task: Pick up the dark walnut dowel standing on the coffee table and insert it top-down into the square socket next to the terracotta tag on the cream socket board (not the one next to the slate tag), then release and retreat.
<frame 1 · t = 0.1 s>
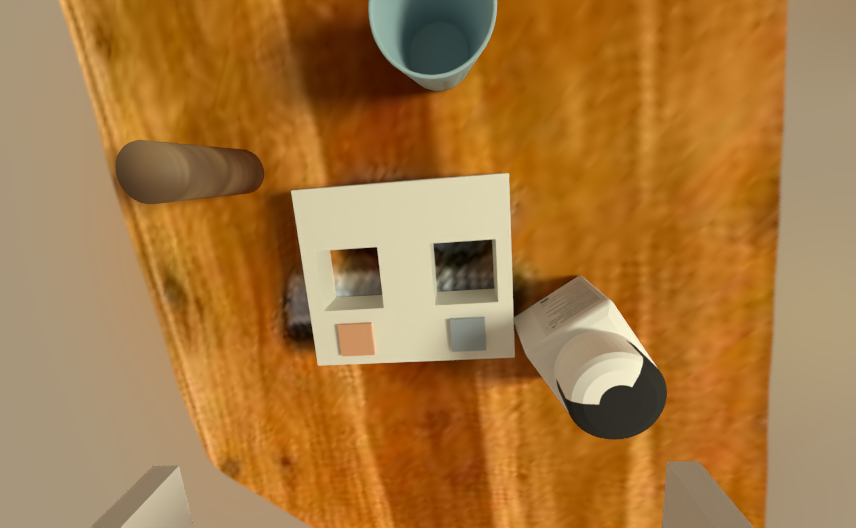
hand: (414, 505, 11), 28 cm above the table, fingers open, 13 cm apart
cup: (439, 57, 34), on the table
dowel: (243, 171, 37), on the table
socket board: (411, 265, 38), on the table
container: (566, 326, 39), on the table
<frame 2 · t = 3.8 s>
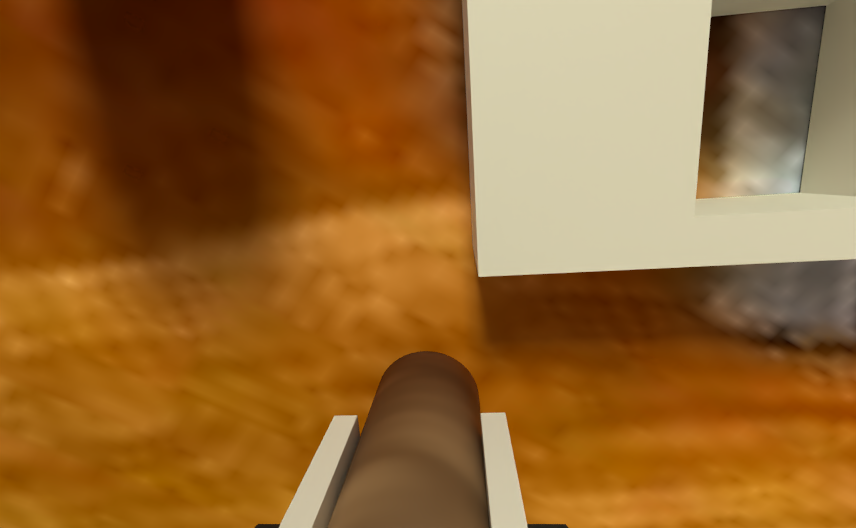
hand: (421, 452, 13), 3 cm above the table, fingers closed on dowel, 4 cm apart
dowel: (427, 397, 16), on the table, touching gripper
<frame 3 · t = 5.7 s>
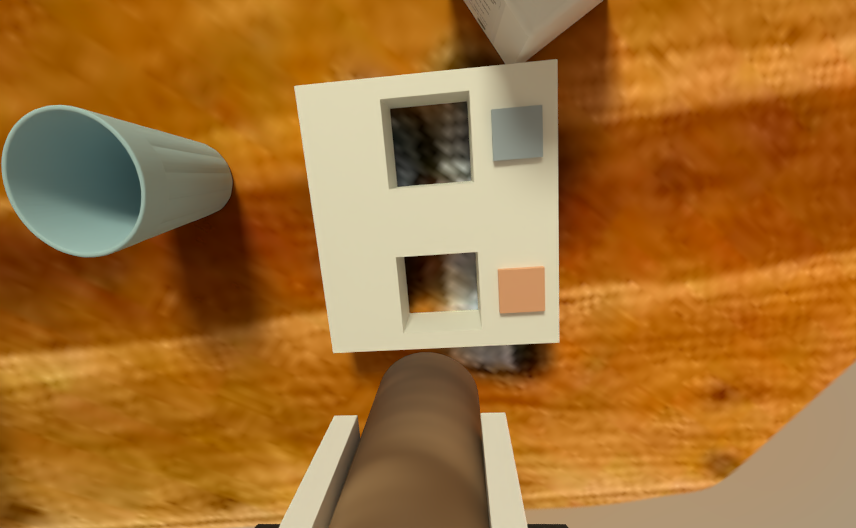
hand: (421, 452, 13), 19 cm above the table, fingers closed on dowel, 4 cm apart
cup: (200, 179, 31), on the table
dowel: (428, 398, 16), point 16 cm above the table, touching gripper
socket board: (436, 214, 30), on the table
when the fingers open (5 cm above the table, at t = 7.9 s): dowel stays where it is, on the table.
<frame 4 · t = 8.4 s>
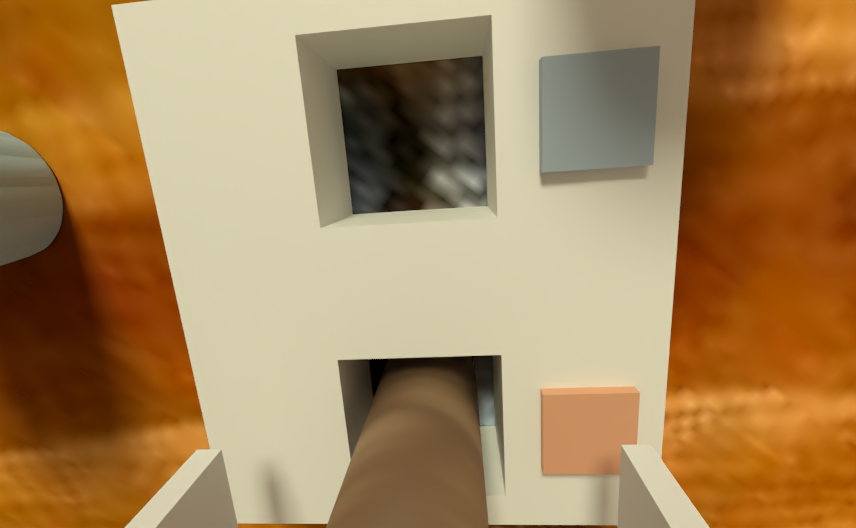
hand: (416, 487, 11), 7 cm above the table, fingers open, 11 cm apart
cup: (9, 195, 17), on the table
dowel: (430, 373, 18), on the table
socket board: (423, 264, 17), on the table
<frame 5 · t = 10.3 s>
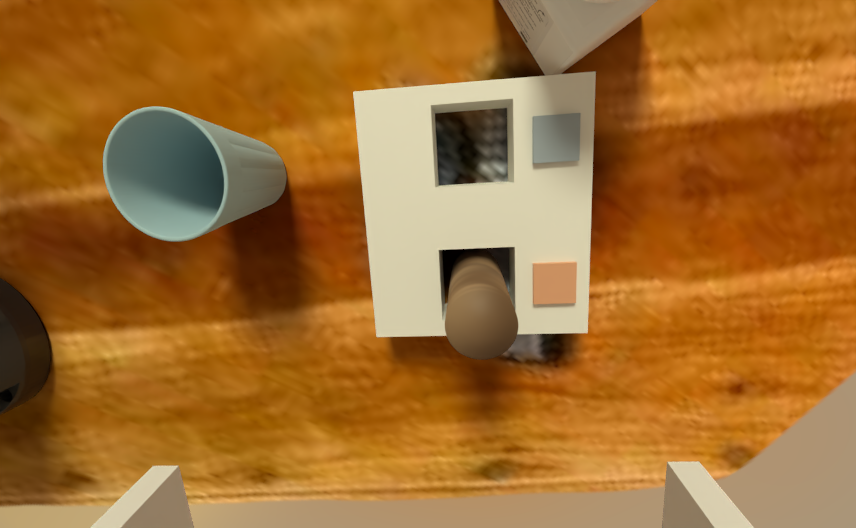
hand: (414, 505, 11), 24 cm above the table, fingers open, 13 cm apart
cup: (256, 174, 33), on the table
dowel: (475, 271, 33), on the table
socket board: (474, 211, 32), on the table
container: (565, 2, 28), on the table
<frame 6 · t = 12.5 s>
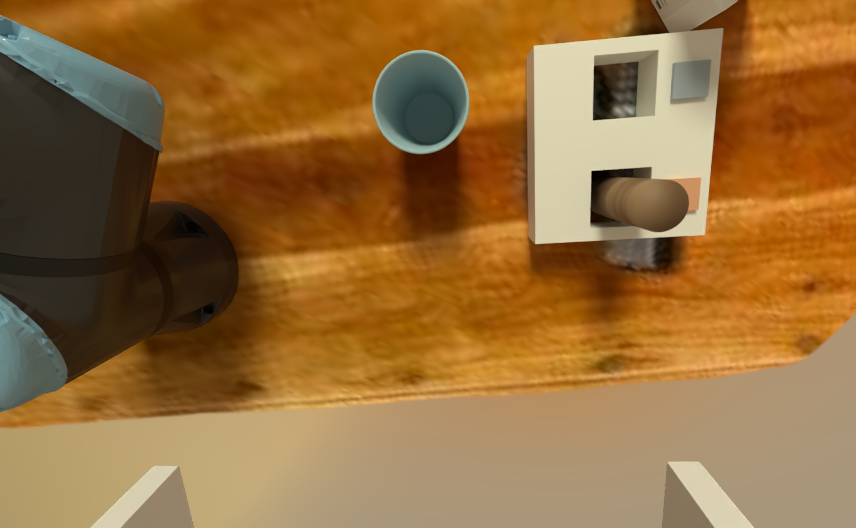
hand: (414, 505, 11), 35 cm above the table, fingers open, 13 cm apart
cup: (429, 119, 42), on the table
dowel: (604, 195, 42), on the table
socket board: (606, 146, 41), on the table
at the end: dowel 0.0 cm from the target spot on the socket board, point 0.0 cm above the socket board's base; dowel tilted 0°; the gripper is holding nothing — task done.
